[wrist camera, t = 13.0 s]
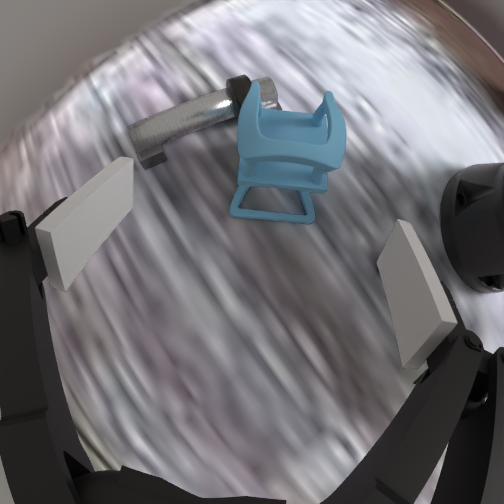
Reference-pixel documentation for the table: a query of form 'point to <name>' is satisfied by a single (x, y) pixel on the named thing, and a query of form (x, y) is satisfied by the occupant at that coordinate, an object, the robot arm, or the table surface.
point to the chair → (287, 152)
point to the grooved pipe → (195, 117)
